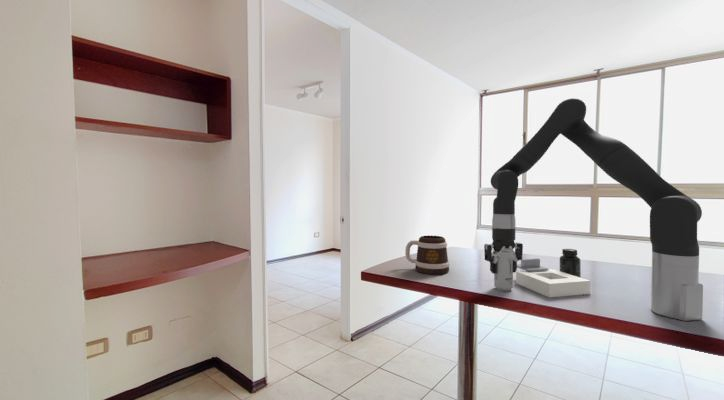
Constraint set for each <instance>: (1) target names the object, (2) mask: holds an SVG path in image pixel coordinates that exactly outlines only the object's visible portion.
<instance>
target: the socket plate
mask: <svg viewBox="0 0 724 400" xmlns="http://www.w3.org/2000/svg"><path fill="white" fill-rule="evenodd" d="M515 284H517V285H519V286H521V287H525V288H526V289H528V290H531V291H533V292H536V293H538V294H541V295H543V296H545V297H547V298H559V297H570V296H581V295H583V294H584V295H591V280H589V279H586V278H582V277H581V278H580V277H577V276H573V275H570V274H567V273H564V272H560V270H557V269H554V268H552V269H551V268H548V270H545V271H530V272H529V271H526V270H519V271H518V270H516V272H515Z"/></svg>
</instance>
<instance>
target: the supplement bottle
mask: <svg viewBox="0 0 724 400" xmlns="http://www.w3.org/2000/svg"><path fill="white" fill-rule="evenodd" d="M561 254H562V255H561V256H559V271H560V272H564V273H567V274H570V275H573V276H577V277H580V278H582V277H581V275H582V271H581V268H582V267H581V264H582V263H581V258H580V257H578V250H577V249H573V248H562V253H561Z"/></svg>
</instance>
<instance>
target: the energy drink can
mask: <svg viewBox="0 0 724 400" xmlns="http://www.w3.org/2000/svg"><path fill="white" fill-rule="evenodd" d="M503 249H504V250H503V251H501V253H500V258H498V260H497V262H496V264H497V274H493V276H494V278H493V281H494V284H493V285H494V287H495V289H496V290H498V291H501V292H511V291H512V289H513V287H514V286H513V285H514V273H513V252H512V250H511V248H503ZM495 254H498V252H495Z"/></svg>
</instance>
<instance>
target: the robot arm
mask: <svg viewBox="0 0 724 400" xmlns="http://www.w3.org/2000/svg"><path fill="white" fill-rule="evenodd" d="M586 114H587V106H586V103H585V102H584V101H583V100H582V99H579V98H575V97H574V98H568V99H565V100H562V101H561V102H560V103H559V104H558V105H557V106H556V107H555V109H554V110H553V111H552V113H551V114H550V115H549V116H548V118H547V120H546V121H545V122H544V123H543V125H542V126H541V127H540V128H539V129H538V130H537V132H536V133H535V134H534V135H533V137H531V138H530V140H529V141H528V142H527V143H526V144H524V145H523V146H522V148H520V149H519V151H517V152H516V154H515V155H514V156H513V157H512V158H511V159H510V160H508V161H507V162H506V163H504V164H503V165H502V166H501V167H499V168H498V169H497V170H495V172H494V173H493V175H492V176H491V178H490V184H491V187H492V188H493V189H495V190H497V191H496V197H495V198H494V199H493V203H492V219H491V220H492V221H491V226H492V227H491V229H492V230H491V239H492V243H491V244H488V243H485V244H484V246H483V247H484V248H483V249H484V260H485V261H487V262H489V263H490V264H489V266H490V267H489V271H490V273H491V274H493V275H494V274H497V264H496V262H497V260H498V258H500V253H501V251H503V250H504V249H503V248H511V250H512V252H513V274H514V273H516V271H518V268H517V265H518V262H519V261H521V260H522V259H523V249H524V248H523V247H524V246H523V245H524V244H523V243H520V242H518V241H517V242H515V241H516V215H515V213H516V212H515V211H516V209H515V206H516V205H515V203H516V202H515V201H516V198H517V194H518V189H519V177H520V176H521V175H523V174H525V173H527V172H528V171H530V169H532V168H533V167H534V166H535V165H536V164H537V163H538V162H539V161H540V160H541V159H542V157H543V156H544V155H545V154H546V153H547V151H548V150H549V149H550V148H551V145H552V144H553V143H554V141H555V140H556V139H557V138H558V137H559V136H560V135H561V136H563V137H564V138H566V139H568V141H570V142H571V143H573V144H574V145H575V146H577V148H579V149H580V150H581V151H582V152H583V153H584V154H585V155H586V156H587V158H588V157H589V159H591V161H593V162H594V164H596V166H598V167H599V168H600V170H601V171H603V172H604V173H605V174H606V175H607V176H609V177H610V178H611V179H613V180H614V181H615V182H617V183H619V184H620V185H622V186H623V187H625V188H627V189H629V191H632V192H633V193H634V194H636V195H637V196H638V197H640V199H642V200H643V201H644V202H645V203H646V204H647V205H648V206H649V207H650V211H649V239H650V243H651V247H652V248H651V281H650V282H651V287H650V288H651V291H650V292H651V293H650V296H651V297H650V299H651V300H650V302H651V303H650V310H651V311H652V312H654V314H658V315H659V316H662V317H663V316H664V317H667V318H669V319H670V318H671V319H674V320H675V319H676V320H680V321H683V322H689V321H697V320H703V309H704V308H703V307H704V306H703V305H704V304H703V303H704V285H703V284H702V283H699V279H700V278H699V269H700V268H699V267H700V245H699V242H698V223H699V221H700V220H701V218H702V215H703V213H702V212H703V211H702V207H701V206H700V204H699V203H698V202H697V201H696V200H694V199H693V198H692V197H690V196H688V195H686V194H685V193H684V192H682V191H680V190H679V189H678V188H676V187H674V186H673V185H671V184H670V183H669V182H668V181H666V180H665V179H663V178H662V176H660V174H658V173H657V171H655V170H654V169H653V168H652V166H650V164H649V163H648V162H646V161H645V160H644V159H643V158H642V157H641V156H640V155H639V154H638V153H636V152H635V151H634V150H633V149H632V148H631V147H629V146H628V145H627V144H625V143H624V142H623V141H621V140H619V139H615V138H613V137H610V136H606V135H603V134H601V133H599V132H597V131H596V130H594V129H593V128H592V127H591V126H590V125H589V124H588V123H587V122H586V120H585V118H586ZM495 252H498V254H495Z"/></svg>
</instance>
